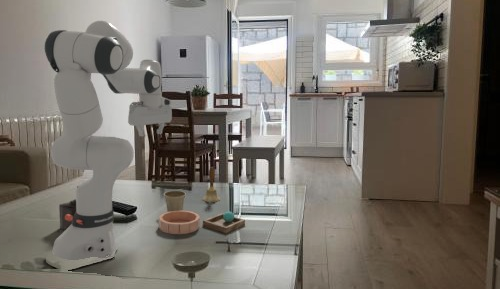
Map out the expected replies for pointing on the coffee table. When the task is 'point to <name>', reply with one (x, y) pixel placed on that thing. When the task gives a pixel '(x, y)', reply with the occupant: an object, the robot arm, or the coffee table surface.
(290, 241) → the coffee table surface
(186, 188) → the coffee table surface
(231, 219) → the ball
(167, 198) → the flower pot
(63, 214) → the dark grey box
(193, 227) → the bowl
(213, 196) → the hand bell
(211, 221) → the tray
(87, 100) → the robot arm
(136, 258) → the coffee table surface
